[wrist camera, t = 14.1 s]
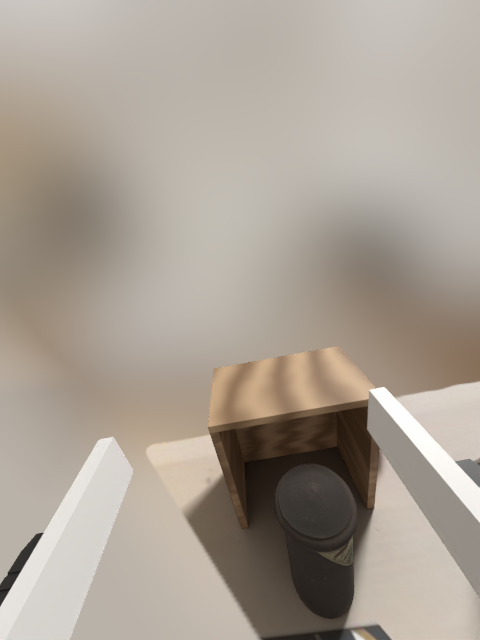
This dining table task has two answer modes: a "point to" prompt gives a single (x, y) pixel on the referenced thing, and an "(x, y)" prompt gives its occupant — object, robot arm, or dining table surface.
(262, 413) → the cubby
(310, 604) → the container
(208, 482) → the dining table surface
